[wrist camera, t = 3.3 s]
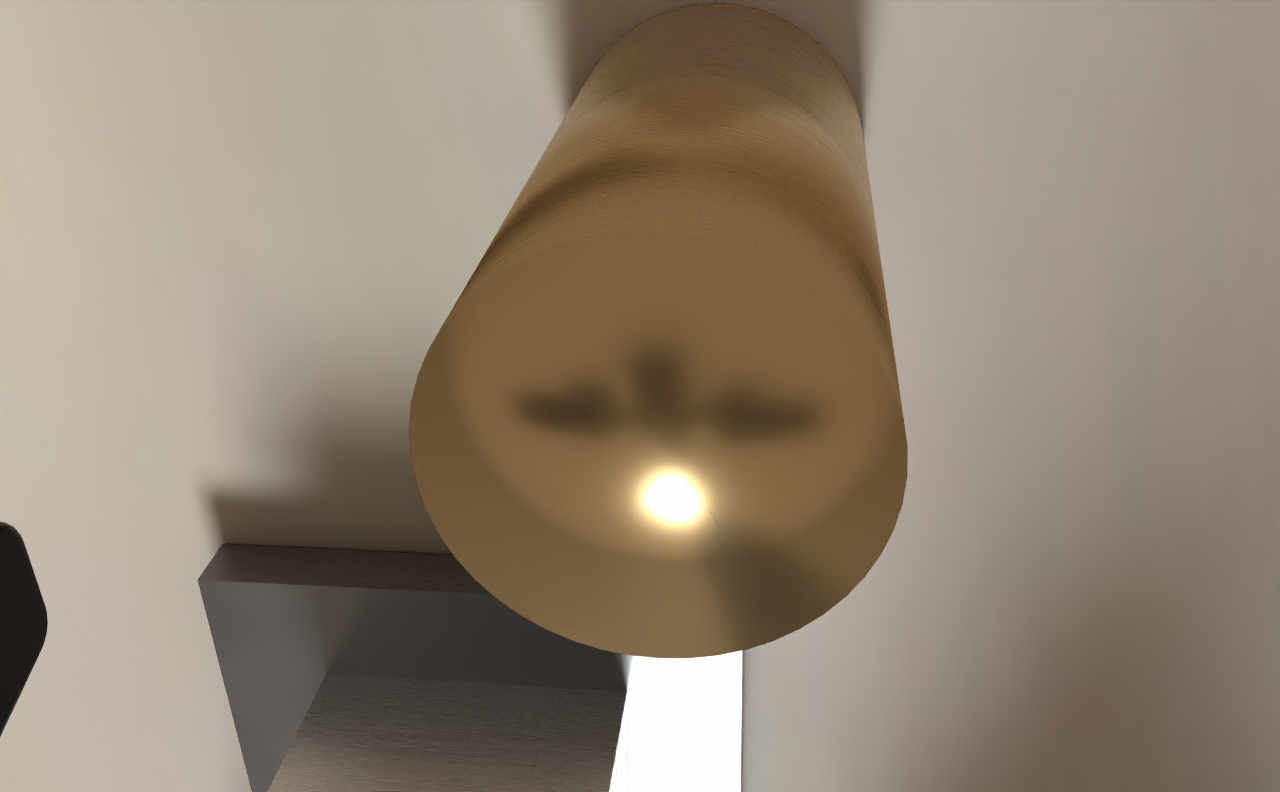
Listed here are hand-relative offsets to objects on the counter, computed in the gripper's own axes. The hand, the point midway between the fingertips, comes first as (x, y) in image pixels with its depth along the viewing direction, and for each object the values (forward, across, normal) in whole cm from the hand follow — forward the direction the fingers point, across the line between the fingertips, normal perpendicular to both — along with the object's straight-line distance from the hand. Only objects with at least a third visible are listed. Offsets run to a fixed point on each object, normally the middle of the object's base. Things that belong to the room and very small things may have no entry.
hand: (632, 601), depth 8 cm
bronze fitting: (+10, 0, 0) cm, 10 cm away
